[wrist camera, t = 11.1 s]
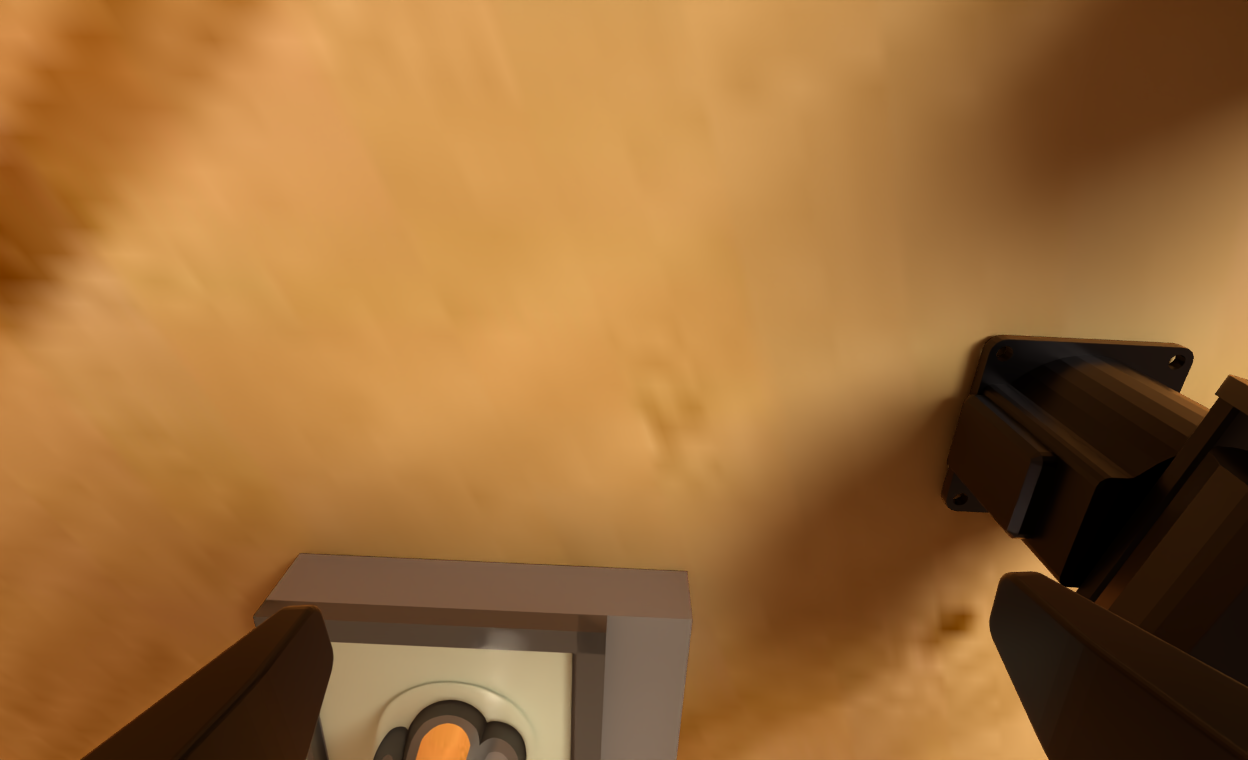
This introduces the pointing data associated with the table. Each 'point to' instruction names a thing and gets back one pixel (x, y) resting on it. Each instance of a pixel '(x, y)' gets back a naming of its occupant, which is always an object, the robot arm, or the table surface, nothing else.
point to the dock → (501, 647)
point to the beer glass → (452, 726)
